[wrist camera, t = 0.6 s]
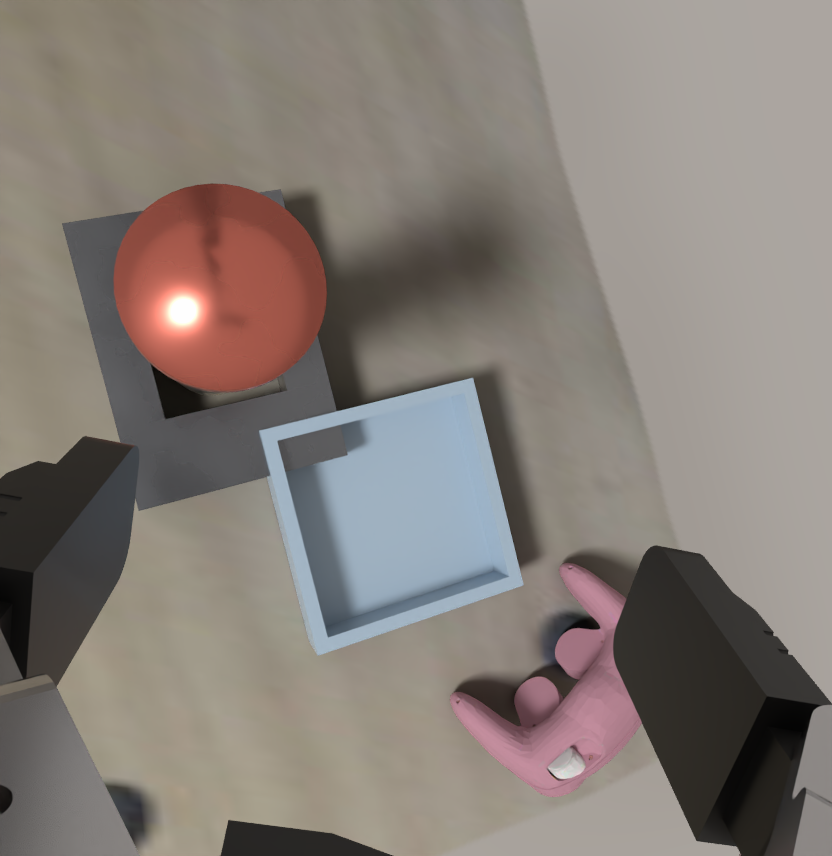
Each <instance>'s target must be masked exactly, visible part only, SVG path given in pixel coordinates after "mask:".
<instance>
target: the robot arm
mask: <svg viewBox="0 0 832 856" xmlns="http://www.w3.org/2000/svg"><path fill="white" fill-rule="evenodd" d="M138 469H139V449H138V447H137V446H135V445H129V444H124V443H119V442H113V441H108V440H103V439H98V438H92V437H87V436H85V437H83V438H81V439H80V440H79V441H78V442H77V443H76V444H75V445H74V447H73V448H72V449H71V450H70V451H69V452H68V453H67V454H66V455H65V456H64V457H63V458H62V459H61V460H60V461H59V462H58V463H57V464H52V463H46V462H41V461H37V462H34V463H32V464H29V465H27V466H24V467H21V468H19V469H16V470H14V471H11V472H8V473H6V474H5V475H4V476H3V477H2V478H0V856H140V855H139V853H138V851H137V849H136V847H135V845H134V843H133V841H132V839H131V837H130V835H129V833H128V831H127V829H126V827H125V825H124V823H123V821H122V819H121V817H120V815H119V813H118V811H117V809H116V807H115V805H114V803H113V801H112V798H111V796H110V794H109V792H108V790H107V788H106V786H105V784H104V782H103V780H102V778H101V776H100V774H99V772H98V770H97V768H96V766H95V764H94V762H93V760H92V758H91V756H90V754H89V752H88V750H87V748H86V746H85V744H84V742H83V740H82V738H81V736H80V734H79V732H78V730H77V728H76V726H75V724H74V722H73V719H72V717H71V715H70V713H69V711H68V709H67V707H66V705H65V703H64V701H63V699H62V697H61V695H60V693H59V691H58V689H57V685H58V683H59V681H60V680H61V678H62V676H63V675H64V673H65V671H66V669H67V668H68V666H69V664H70V663H71V661H72V659H73V657H74V656H75V654H76V652H77V651H78V649H79V647H80V645H81V644H82V642H83V640H84V639H85V637H86V635H87V633H88V632H89V630H90V628H91V627H92V625H93V623H94V621H95V620H96V618H97V616H98V615H99V613H100V611H101V609H102V608H103V606H104V604H105V603H106V601H107V599H108V597H109V596H110V594H111V592H112V591H113V589H114V587H115V585H116V584H117V582H118V580H119V578H120V576H121V573H122V570H123V567H124V564H125V561H126V557H127V553H128V549H129V544H130V537H131V528H132V520H133V511H134V503H135V494H136V486H137V477H138ZM773 633H774V632H773V631H772V630H771V628H770V627H769V626H768V625H767V624H766V623H765V621H764V620H763V619H762V617H761V616H760V615H759V614H758V613H757V611H755V610H754V609H753V608H752V607H751V606H749V605H748V604H747V603H746V602H744V601H743V600H742V599H740V598H739V597H738V596H736V595H735V594H734V593H733V592H732V591H731V590H730V589H729V588H728V586H727V585H726V584H725V583H724V581H723V580H722V579H721V577H720V576H719V575H718V574H717V572H716V571H715V570H714V569H713V567H712V566H711V565H710V564H709V562H708V561H707V560H706V559H705V557H703V555H701V554H698V553H693V552H688V551H682V550H677V549H672V548H667V547H661V546H652V547H650V548H649V549H648V550H647V551H646V553H645V554H644V556H643V558H642V561H641V563H640V566H639V568H638V571H637V573H636V576H635V579H634V581H633V584H632V586H631V589H630V592H629V594H628V597H627V599H626V602H625V605H624V607H623V610H622V612H621V615H620V618H619V620H618V623H617V626H616V629H615V633H614V639H613V655H614V661H615V665H616V667H617V670H618V672H619V674H620V676H621V678H622V680H623V683H624V685H625V687H626V689H627V691H628V693H629V696H630V698H631V700H632V702H633V704H634V706H635V709H636V711H637V713H638V715H639V717H640V719H641V722H642V724H643V726H644V728H645V730H646V732H647V735H648V737H649V739H650V741H651V743H652V745H653V748H654V750H655V752H656V754H657V756H658V758H659V761H660V763H661V765H662V767H663V769H664V771H665V774H666V776H667V778H668V780H669V782H670V784H671V786H672V789H673V791H674V793H675V795H676V797H677V800H678V801H679V804H680V806H681V808H682V810H683V812H684V815H685V817H686V819H687V821H688V823H689V826H690V828H691V830H692V832H693V834H694V836H695V838H696V841H701V842H708V843H715V844H722V845H730V846H737V847H738V849H739V851H740V854H739V856H832V703H831V702H830V701H829V700H828V698H827V697H826V696H825V695H824V693H823V692H822V691H821V690H820V689H819V687H818V686H817V685H816V684H815V682H814V681H813V680H812V679H811V678H810V676H809V675H808V674H807V673H806V672H805V670H804V669H803V668H802V666H801V665H800V664H799V663H798V662H797V660H796V659H795V658H794V657H793V655H788V649H787V648H786V647H785V646H784V644H783V643H782V642H781V641H780V640H779V638H778V637H776V636H773ZM221 856H392V855H390V854H387V853H384V852H381V851H379V850H376V849H373V848H371V847H368V846H365V845H362V844H360V843H357V842H354V841H351V840H349V839H346V838H343V837H341V836H338V835H335V834H332V833H324V832H317V831H309V830H301V829H293V828H285V827H278V826H270V825H262V824H254V823H247V822H239V821H231V820H228V825H227V829H226V834H225V839H224V843H223V848H222V853H221Z"/></svg>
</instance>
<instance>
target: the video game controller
mask: <svg viewBox="0 0 832 856" xmlns="http://www.w3.org/2000/svg"><path fill="white" fill-rule="evenodd" d="M559 571H560V575H561V577H562V579H563V581H564V583H565V585H566V586H567V588H568V589H569V591H570V592H571V593H572V595H573V596H574V597H575V598H576V599H577V601H578V602H579V603H580V604H581V605H582V606H583V608H584V609H585V610H586V611H587V612H588V613H589V614H590V615H591V616H592V617H593V618H594V619H595V620H596V621H597V622H598V623H599V625H600V629H598V630H590V629H582V628H575V629H571V630H568V631H567V632H565V633H564V634H563V635H562V636H561V637H560V639H559V640H558V642H557V645H556V648H555V656H556V659H557V661H558V663H559V664H560V665H561V666H562V668H563V669H564V670H565V671H566V673H567V674H568V675H569V676H571V677H573V678H575V679H579V681H578V682H577V683H576V685H575V686H574V687H573V689H572V690H571V691H570V692H569V694H568V695H567V696H566V697H565V699H564V698H563V697H562V695H561V694H560V692H559V691H558V689H557V688H556V686H555V685H554V684H553V683H552V682H551V681H550V680H549V679H547V678H545V677H534V678H531V679H529V680H527V681H526V682H524V683H523V684H522V685H521V686H520V687H519V689H518V690H517V692H516V694H515V700H514V703H515V707H516V710H517V713H518V716H519V719H520V724H521V725H520V726H516V725H514V724H513V723H511V722H509V721H507V720H505V719H504V718H502V717H501V716H499V715H498V714H497V713H495V712H494V711H493V710H491V709H490V708H489V707H487V706H486V705H484V704H483V703H482V702H480V701H479V700H477V699H475V698H473V697H471V696H469V695H467V694H465V693H462V692H454V693H452V695H451V696H450V702H451V705H452V708H453V710H454V712H455V714H456V716H457V717H458V718H459V720H460V721H461V722H462V724H463V725H464V726H465V728H466V729H467V730H468V731H469V732H470V734H471V735H472V736H473V737H474V738H475V739H476V740H477V741H478V742H479V743H480V744H481V745H482V746H483V747H484V748H485V749H486V750H487V751H488V753H490V754H491V755H492V756H493V757H494V758H495V759H497V760H498V761H499V762H500V763H501V764H502V765H504V766H505V767H506V768H508V769H509V770H510V771H511V772H513V773H514V774H515V775H517V776H518V777H519V778H520V779H522V780H523V781H524V782H526V783H527V784H529V785H530V786H531V787H532V788H534V789H535V790H536V791H537V792H539V793H540V794H542V795H545V796H549V797H557V796H562V795H566V794H568V793H570V792H572V791H574V790H575V789H577V788H578V787H579V786H580V785H581V784H582V782H583V781H584V780H585V778H587V777H589V776H590V775H592V774H594V773H595V772H597V771H598V770H599V769H600V768H602V767H603V766H604V765H605V764H607V763H608V762H609V761H610V760H611V759H612V758H613V757H614V756H615V755H616V754H617V753H618V752H619V751H620V750H621V749H622V748H623V747H624V746H625V745H626V744H627V742H628V741H629V740H630V739H631V738H632V736H633V735H634V734H635V732H636V731H637V729H638V728H639V726H640V725H641V724H642V722H641V719H640V717H639V715H638V713H637V711H636V709H635V706H634V704H633V702H632V700H631V698H630V696H629V693H628V691H627V689H626V687H625V685H624V683H623V680H622V678H621V676H620V674H619V672H618V670H617V667H616V665H615V661H614V655H613V639H614V633H615V629H616V626H617V623H618V620H619V618H620V615H621V612H622V610H623V607H624V605H625V602H626V599H627V598H625V597H624V596H623V595H621V594H620V593H619V592H617V591H616V590H615V589H613V588H612V587H610V586H609V585H608V584H606V583H605V582H604V581H602V580H601V579H600V578H598V577H597V576H596V575H594V574H593V573H592V572H590V571H588V570H587V569H585V568H583V567H581V566H578V565H576V564H572V563H563V564H562V565H561V566H560V568H559Z"/></svg>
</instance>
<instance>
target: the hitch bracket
mask: <svg viewBox="0 0 832 856" xmlns="http://www.w3.org/2000/svg"><path fill="white" fill-rule="evenodd" d="M260 194H262V195H264V196H266V197H268V198H270V199H271V200H273V201H275V202H277V203H278V204H279V205H281V206H282V207H283V208H285V204H284V200H283V196H282V192H281V189H280V190H273V191H267V192H261V193H260ZM285 209H286V208H285ZM142 212H143V211H139V212H133V213H126V214H120V215H114V216H107V217H101V218H94V219H88V220H82V221H75V222H69V223H62V225H63V229H64V232H65V236H66V240H67V244H68V247H69V251H70V255H71V259H72V262H73V266H74V270H75V274H76V277H77V281H78V285H79V289H80V292H81V296H82V300H83V304H84V307H85V311H86V315H87V319H88V322H89V326H90V330H91V334H92V337H93V341H94V345H95V349H96V352H97V356H98V360H99V364H100V367H101V371H102V375H103V378H104V382H105V386H106V390H107V393H108V397H109V401H110V405H111V408H112V412H113V416H114V420H115V423H116V427H117V431H118V435H119V438H120V442H121V443H124V444H129V445H135V446H137V447H138V449H139V469H138V477H137V486H136V494H135V498H136V502H137V506H138V509H139V511H140V510H144V509H148V508H152V507H155V506H159V505H163V504H167V503H170V502H174V501H178V500H182V499H185V498H189V497H193V496H197V495H200V494H204V493H208V492H212V491H215V490H219V489H223V488H227V487H230V486H234V485H238V484H242V483H245V482H249V481H253V480H257V479H260V478H264V477H268V476H271V475H270V472H269V468H268V464H267V460H266V456H265V452H264V448H263V444H262V441H261V437H260V433H259V431H260V430H264V429H268V428H272V427H276V426H280V425H284V424H288V423H292V422H296V421H300V420H304V419H309V418H313V417H317V416H321V415H325V414H329V413H333V412H337V410H336V406H335V402H334V398H333V394H332V390H331V386H330V382H329V378H328V374H327V370H326V366H325V362H324V358H323V355H322V351H321V347H320V343H319V339H318V335H317V336H316V338H315V340H314V342H313V343H312V345H311V346H310V348H309V349H308V350H307V352H306V353H305V354H304V355H303V356H302V357H301V359H300V360H299V361H298V362H297V363H296V364H294V365H293V366H292V367H291V368H290V369H288V370H287V371H286V372H285V373H283V374H282V375H280V376H279V377H278V381H279V385H280V389H281V392H279V393H275V394H271V395H266V396H262V397H258V398H254V399H249V400H245V401H241V402H237V403H232V404H228V405H224V406H220V407H215V408H211V409H207V410H203V411H198V412H194V413H190V414H186V415H181V416H177V417H173V418H169V419H166V417H165V414H164V410H163V406H162V402H161V398H160V395H159V391H158V387H157V383H156V379H155V376H154V372H153V368H152V364H151V363H150V362H149V361H147V359H146V358H145V357H144V356H143V355H142V354H141V353H140V352H139V350H138V349H137V347H136V346H135V345H134V343H133V342H132V340H131V339H130V337H129V335H128V333H127V331H126V329H125V327H124V325H123V323H122V321H121V318H120V315H119V312H118V309H117V306H116V300H115V295H114V281H113V278H114V267H115V262H116V258H117V253H118V250H119V248H120V245H121V243H122V240H123V238H124V236H125V235H126V233H127V231H128V229H129V228H130V226H131V225H132V224H133V222H134V221H135V220H136V219H137V217H138V216H139V215H140V214H141V213H142ZM277 442H278V446H279V450H280V454H281V458H282V462H283V465H284V469H285V472H287V471H290V470H294V469H298V468H302V467H305V466H309V465H313V464H317V463H320V462H324V461H328V460H332V459H335V458H339V457H343V456H347V455H348V453H347V449H346V445H345V441H344V438H343V434H342V430H341V426H340V425H337V426H333V427H329V428H325V429H322V430H318V431H314V432H310V433H306V434H302V435H298V436H294V437H290V438H286V439H282V440H278V441H277Z"/></svg>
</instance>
